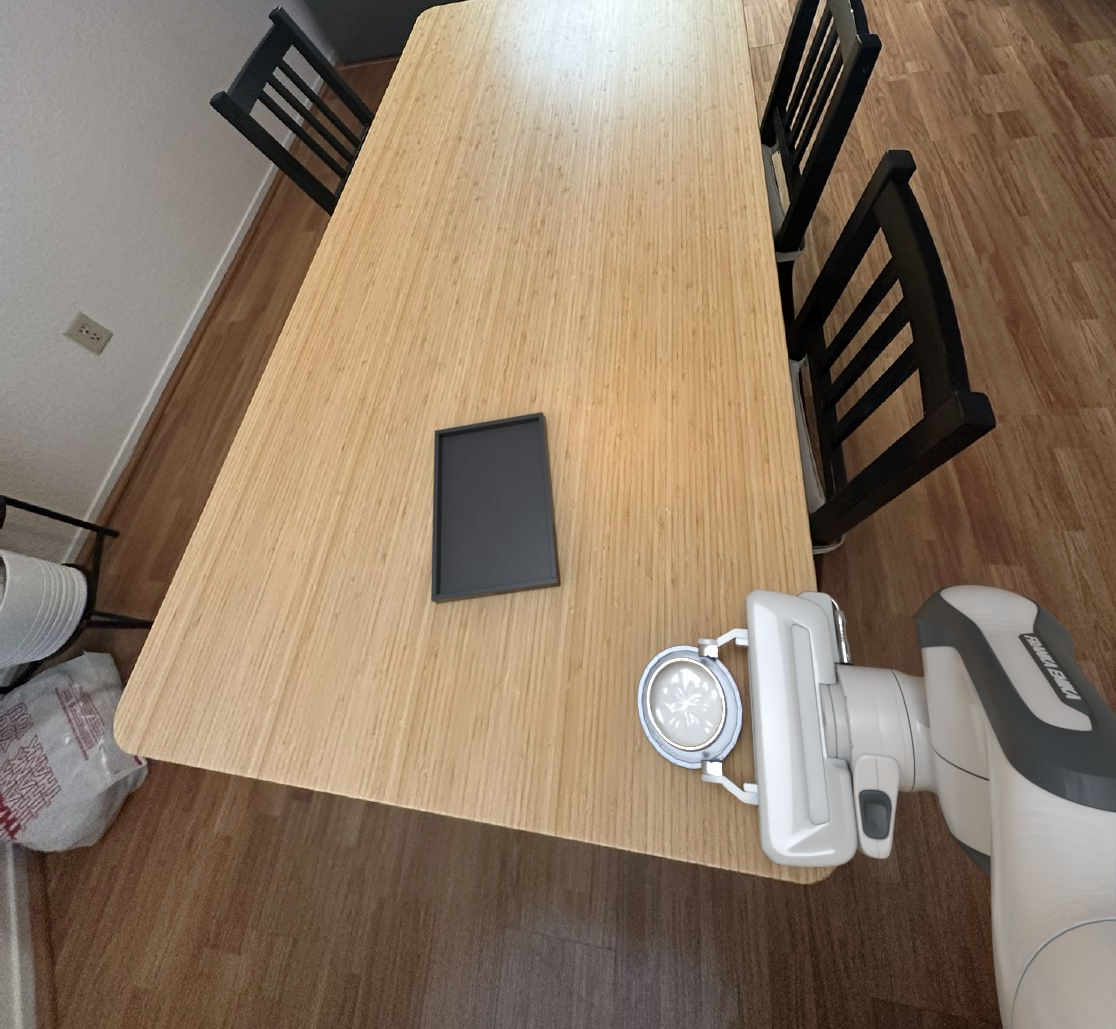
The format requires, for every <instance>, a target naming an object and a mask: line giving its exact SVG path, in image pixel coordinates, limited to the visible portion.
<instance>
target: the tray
mask: <svg viewBox="0 0 1116 1029" xmlns="http://www.w3.org/2000/svg"><path fill="white" fill-rule="evenodd" d="M546 420H547V419H546V416H545V414H544V412H543V411H541V412H535V413H528V414H523V415H518V416H517V415H516V416H512V417H507V418H499V419H494V420H489V421H482V422H477V423H471V424H470V423H469V424H465V425H459V426H453V427H448V428H442V429H441V428H440V429H436V430H434V437H433V438H434V440H433V441H434V442H433V443H434V444H433V445H434V446H433V492H432V537H431V538H432V540H431V541H432V542H431V544H432V545H431V586H430V588H431V591H430V592H431V593H430V601H431V602H432V603H436V604H442V603H448V602H455V601H462V600H470V599H477V598H485V597H491V596H497V595H504V594H512V593H519V592H526V591H532V590H533V591H534V590H540V589H546V588H547V589H549V588H554V587H561V575H560V564H559V552H558V543H557V542H558V541H557V533H556V532H557V531H556V520H555V509H554V497H553V487H552V475H551V474H552V473H551V465H550V464H551V463H550V453H549V452H550V451H549V442H548V441H549V440H548V432H547V430H548V429H547V421H546Z"/></svg>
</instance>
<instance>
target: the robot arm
mask: <svg viewBox="0 0 1116 1029" xmlns="http://www.w3.org/2000/svg"><path fill="white" fill-rule="evenodd" d="M833 607H834V610H833ZM744 618H745V628H737V627H735V628H732V629H731V630H729V631H727V632H725V633H723V634H722V635H720V636H718V637H717V638H716V639H715V638H713V639H712V638H702V637H701V638H699V637H698V638H697V647H698V656H699V657H707V656H709V657H710V658H718V650H719V649H720V648H722V647H724V646H725V645H728V644H729V643H731V642H733V641H734V646H735V647H736V648H743V649H744V648H745V649H746V650H747V651H746V652H747V666H748V667H747V669H748V683H749V698H750V700H749V702H750V716H751V731H752V747H753V749H752V750H753V762H754V763H753V764H754V778H755V779H754V781H746V780H743V781H742V784H741V785H742V786H741V787H742V788H741V787H740V786H739V785H738V784H737V783H735V782H734V781H733V780H731V779H730V778H729V777H728V776H726V775H725V774H724V773H723V765H722V761H720V762H718V761H713V762H712V763H711V762H710V761H709V760H701V769H700V774H701V775H700V776H701V781H702V782H705V783H712V784H719V785H722V787H723V788H725V789H726V790H727V791H729V792H730V793H731V794H732V795H733V796H734V797H735V798H737V799H738V800H739V801H741V803H743V804H747V805H752V806H753V805H754V806H756V810H757V811H756V812H757V828H758V842H759V846H760V849H761V851H762V852H763V854H764V855H765V857H766V858H767V859H768V860H769V861H770V862H771V863H773V864H775V865H779V866H784V867H796V868H830V867H831V868H832V867H837V866H843V865H845V864H846V863H848V862H850V861H851V860H852V859H853V858H854V856H855V854H856V852H857V851H858V852H859V853H860V854H862V855H864V856H866V857H868V858H871V859H876V860H883V859H885V860H886V859H887V858H889V857H890V854H891V852H892V847H893V839H894V829H895V820H896V812H897V804H898V796H899V792H901V793H908V794H909V793H910V794H911V793H918V792H919V793H920V792H931V793H932V794H935V795H936V796H937V798H938V802H939V805H940V809H941V812H942V817H943V820H944V823H945V826H946V828H947V830H948V833H949V834H950V835H951V837H952V838H953V839H954V841H955V842H956V844H957V845H958V846H959V847H960V848H961V850H962V851H963V852H964V854H965V855H966V856H967V857H968V858H969V859H970V860H971V861H972V862H973V863H974V864H975V866H977V868H979V869H980V870H981V871H982V872H983V873H984V875H986V876H987V877H988V878H989V879H990V912H991V913H990V914H991V917H990V918H991V919H990V920H991V942H992V943H991V944H992V955H993V956H992V957H993V968H994V977H995V985H996V994H997V1000H998V1001H997V1002H998V1007H999V1015H1000V1019H1001V1025H1002V1029H1116V713H1115V711H1114V710H1113V708H1112V707H1111V706H1110V705H1109V704H1108V703H1107V701H1106V699H1105V698H1104V697H1103V696H1102V694H1101V693H1100V692H1099V691H1098V690H1097V688H1096V687H1095V686H1094V684H1093V683H1092V681H1091V680H1090V679H1089V678H1088V676H1086V674H1085V673H1084V672H1083V671H1082V668H1080V667H1079V665H1078V664H1077V662H1076V654H1075V646H1074V645H1075V644H1074V637H1073V634H1072V633H1071V632H1070V631H1069V630H1068V628H1066V627H1065V626H1064V625H1063V623H1062V622H1060V621H1059V619H1057V617H1055V615H1053V614H1052V613H1051V612H1050V611H1049V610H1047V609H1046V608H1045V607H1043V606H1042V605H1041V604H1040V603H1038V602H1037V601H1036V600H1034V599H1031V598H1029V597H1027V596H1024V595H1022V594H1018V593H1015V592H1013V591H1010V590H1006V589H1003V588H999V587H993V586H987V585H981V584H961V585H949V586H944V587H942V588H939V589H937V590H936V591H935V592H934V593H932V594H931V595H930V596H929V597H928V598H927V599H926V600H925V601H923V603H922V605H921V606H920V607H919V609H918V610H917V611H916V612H915V614H913V619H914V620H913V621H914V626H915V630H916V636H917V642H918V648H919V650H920V651H921V660H922V668H923V676H916V675H911V674H908V673H905V672H903V671H899V670H897V669H893V668H883V667H872V666H861V665H854V664H853V658H852V657H853V656H852V651H851V645H850V641H849V635H848V632H847V631H848V630H847V626H848V622H847V617H846V614H845V611H844V610H842V609H841V607H840V605H839V603H838V602H837V600H835V598H834V597H833V596H831V595H830V594H828V593H826V592H823V591H811V590H804V591H801V592H799V593H798V594H797V595H794V594H790V593H785V592H781V591H773V590H768V589H767V590H766V589H759V588H755V589H752V590H750V592H748V594H747V595H746V596H745V597H744Z"/></svg>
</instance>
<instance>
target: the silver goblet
mask: <svg viewBox="0 0 1116 1029" xmlns="http://www.w3.org/2000/svg"><path fill="white" fill-rule="evenodd" d="M646 703H647V710H648V714H649V718H650V720H651V723H652V725H653V727H654V728H655V730H656V731H657V733H658V734H659V735H660V737H661V738H662V739H663V740H664V741H665V742H667V743H668V744H669V745H671V746H672V747H674V748H676V749H678V750H681V751H685V752H698V751H702V750H704V749H707V748H708V747H710V746H711V745H713V744H714V743H715V742H716V741H717V740H718V739H719V737H720V736H721V734H722V732H723V730H724V728H725V724H726V720H727V700H726V695H725V692H724V689H723V687H722V685H721V683H720V681H719V679H718V678H717V676H716V675H715V674H714V673H713V671H712V670H711V669H710V668H708V667H707V666H706V665H705V664H703V663H701V662H700V661H697V660H695V659H692V658H687V657H677V658H673V659H670V660H667V661H666V662H664V663H663V664H661V665H660V666H659V667H658V668H657V669H656V670H655V672H654V673H653V675H652V677H651V679H650V681H649V684H648V688H647V695H646Z"/></svg>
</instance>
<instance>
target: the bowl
mask: <svg viewBox="0 0 1116 1029" xmlns="http://www.w3.org/2000/svg"><path fill="white" fill-rule="evenodd" d="M677 657H687V658H692V659H695V660H697V661H700V662H701V663H703V664H705V665H706V666H707V667H708V668H710V669H711V670H712V671H713V673H714V674H715V675H716V676H717V678H718V679H719V681H720V683H721V685H722V687H723V689H724V692H725V695H726V700H727V720H726V724H725V728H724V730H723V732H722V734H721V736H720V737H719V739H718V740H717V741H716V742H715V743H714V744H713V745H711V746H710V747H708V748H707V749H704V750H702V751H698V752H685V751H681V750H678V749H676V748H674V747H672V746H671V745H669V744H668V743H667V742H665V741H664V740H663V739H662V738H661V737H660V735H659V734H658V733H657V731H656V730H655V728H654V727H653V725H652V723H651V720H650V718H649V714H648V710H647V703H646V695H647V688H648V684H649V681H650V679H651V677H652V675H653V673H654V672H655V670H656V669H657V668H658V667H659V666H660V665H661V664H663V663H664V662H666V661H667V660H670V659H673V658H677ZM637 687H638V688H637V696H636V705H637V712H638V720H639V723H640V725H641V727H642V730H643V732H644V735H645V738H646V739H647V740H648V742H649V743H650V744H651V745H652V746H653V748H654V750H656V752H657V754H659V755H660V756H661V757H662V758H664V759H666V761H669V762H670V763H671V764H673V765H675V766H678V767H680V768H684V769H688V770H692V771H693V770H701V760H709V761H710V762H711V763H712V762H713V761H718V762H722V761H724V760H725V759H726V758H727V756H728V755H729V754H730V753H731V751H733V749H734V748H735V747H736V745H737V742H738V740H739V737H740V734H741V731H742V728H743V710H744V708H743V704H742V699H741V694H740V690H739V687H738V685H737V682H736V681H735V679H734V677H733V675H732V674H731V672H730V669H728V668H727V666H726V665H724V663H723V662H722V661H721V660H720V659H719V658H718V657H717V658H710V657H709V656H707V657H699V656H698V646H693V645H689V644H681V645H673V646H670V647H668V648H666V649H663V650H661V651H660V652H658V653H656V654H655V655H654V657H653V658H652V659H651V660H650V661H649V662H648V663H647V664H646V665H645V668H644V670H643V672H642V675H641V676H640V679H639V681H638V686H637Z"/></svg>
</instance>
